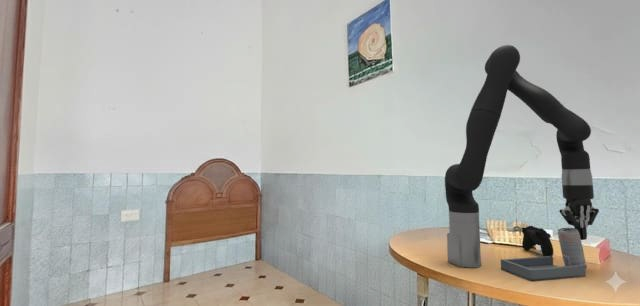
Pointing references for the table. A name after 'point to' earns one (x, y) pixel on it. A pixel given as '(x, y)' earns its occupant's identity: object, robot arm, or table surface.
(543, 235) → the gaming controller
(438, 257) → the table surface
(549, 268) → the tray
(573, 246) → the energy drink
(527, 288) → the table surface
